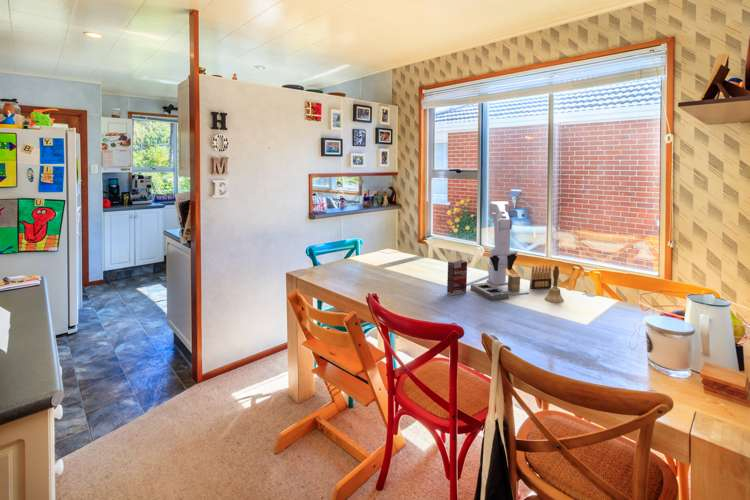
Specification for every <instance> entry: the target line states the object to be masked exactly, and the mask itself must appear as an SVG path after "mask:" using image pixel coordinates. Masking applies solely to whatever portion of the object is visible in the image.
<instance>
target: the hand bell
mask: <svg viewBox="0 0 750 500" xmlns="http://www.w3.org/2000/svg"><path fill="white" fill-rule="evenodd" d="M552 277H553V284H552V285H553V286H551V288H550V289H549V290H548V294H547V295H546V296H545V297H543V298H544V300H545V301H546V302H549V303H556V304H557V303H564V302H565V300H564V298H563V297H562V294H561V288H560V287H558V279H559V277H560V269H559V266H558V265H555V266H554V267H553V270H552Z"/></svg>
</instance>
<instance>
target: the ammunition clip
mask: <svg viewBox="0 0 750 500" xmlns="http://www.w3.org/2000/svg"><path fill="white" fill-rule="evenodd" d="M538 266H539V267H538ZM551 287H552V265H551V264H549V266H548V264H547V265H544V264H543V265H542V266H541V265H536V266H534V265H533V266H532V268H531V275H530V282H529V289H530V290H533V291H534V290H547V289H549V290H550V288H551Z"/></svg>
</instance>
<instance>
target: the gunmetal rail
mask: <svg viewBox="0 0 750 500" xmlns="http://www.w3.org/2000/svg"><path fill="white" fill-rule="evenodd" d="M501 289H502V288H499V287H497V286H494V285H492V284H490V283H488V282H482V283H472V284H470V290H471V291H473V292H474V293H477V294H479V295H481V296H482V297H484V298H486V299H487V300H490V301H492V302H493V301H501V300H509V298H510V297H509V296H510V295H509V293H507V292H505V291H503V290H501Z"/></svg>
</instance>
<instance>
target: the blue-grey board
mask: <svg viewBox="0 0 750 500" xmlns="http://www.w3.org/2000/svg"><path fill="white" fill-rule="evenodd" d="M500 289H501V290H503V291H505V292H507V293H509V296H510V297H511V296H517V295H529V291H527V290H525V289H522V288H520V291H517V292H511V291H509V290H508V287H503V288H500Z"/></svg>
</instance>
